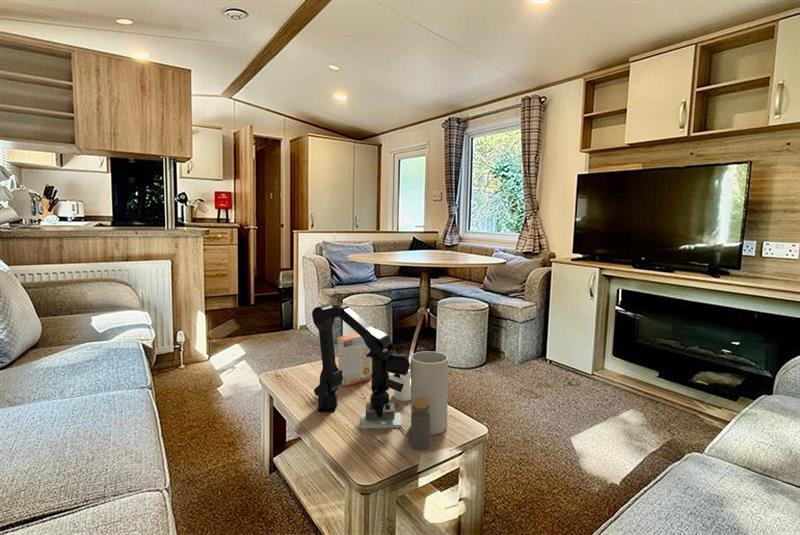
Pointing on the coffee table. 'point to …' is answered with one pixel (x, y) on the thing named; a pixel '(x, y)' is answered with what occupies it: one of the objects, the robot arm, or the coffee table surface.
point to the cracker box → (353, 359)
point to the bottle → (420, 424)
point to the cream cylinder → (404, 388)
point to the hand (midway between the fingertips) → (379, 412)
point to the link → (386, 415)
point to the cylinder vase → (431, 386)
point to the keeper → (381, 422)
